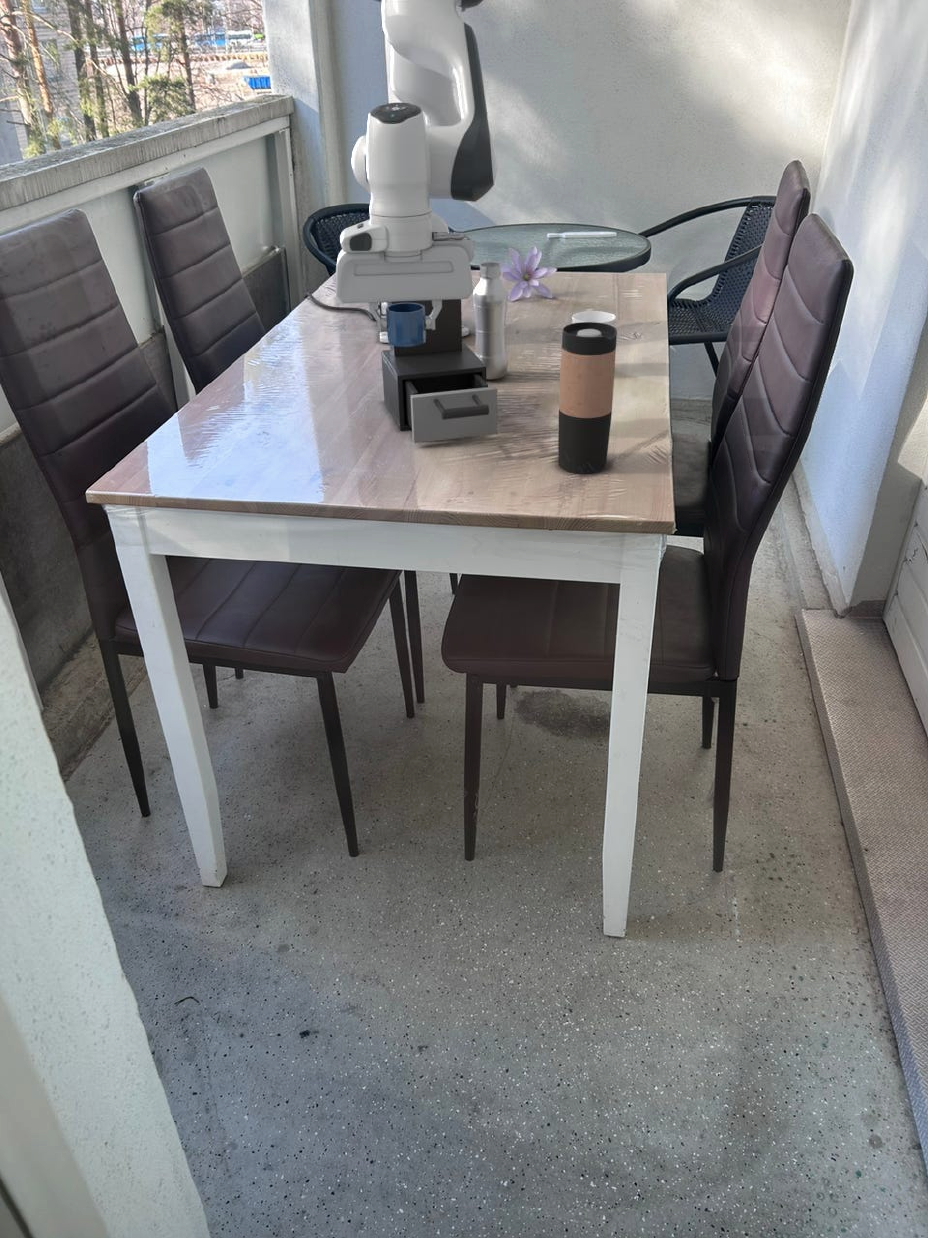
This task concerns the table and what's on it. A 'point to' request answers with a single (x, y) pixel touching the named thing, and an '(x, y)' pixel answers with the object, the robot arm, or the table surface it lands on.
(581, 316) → the white cup
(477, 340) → the silver water bottle
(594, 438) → the travel mug
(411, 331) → the blue cup
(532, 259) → the water lily
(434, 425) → the grey drawer
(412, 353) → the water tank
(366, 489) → the table surface
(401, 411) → the dark grey box
